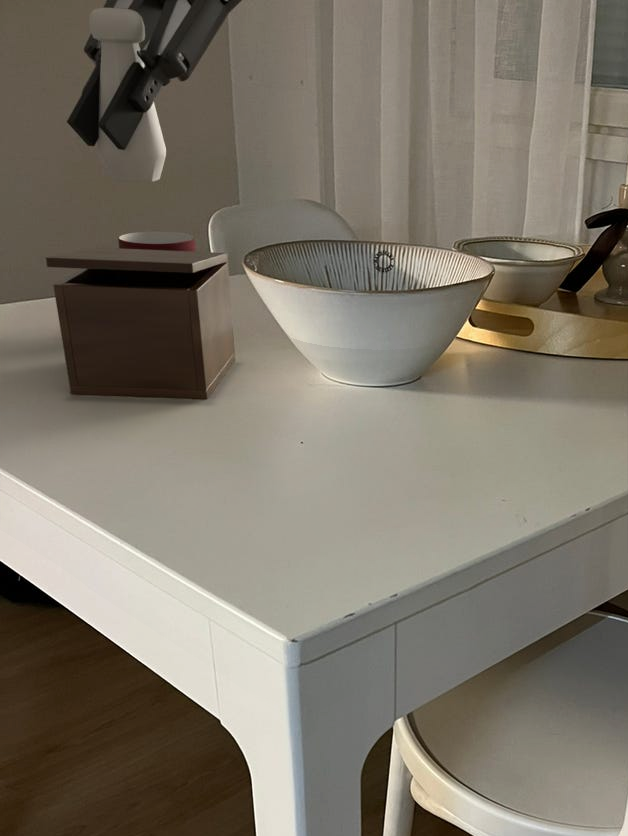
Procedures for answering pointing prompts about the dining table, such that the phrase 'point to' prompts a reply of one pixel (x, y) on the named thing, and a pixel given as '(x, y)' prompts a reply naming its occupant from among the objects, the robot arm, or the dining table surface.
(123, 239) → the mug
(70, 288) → the chest
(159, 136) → the salt shaker
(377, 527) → the dining table surface
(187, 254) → the chest lid
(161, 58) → the robot arm
